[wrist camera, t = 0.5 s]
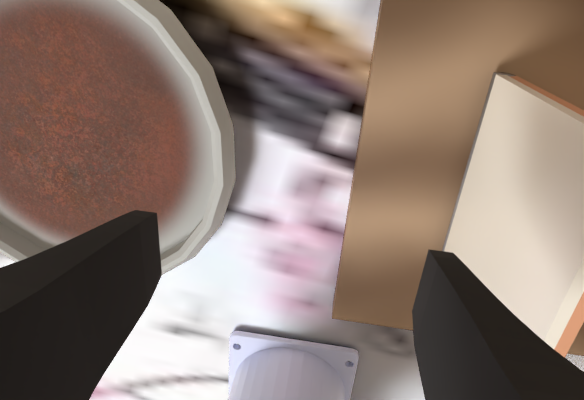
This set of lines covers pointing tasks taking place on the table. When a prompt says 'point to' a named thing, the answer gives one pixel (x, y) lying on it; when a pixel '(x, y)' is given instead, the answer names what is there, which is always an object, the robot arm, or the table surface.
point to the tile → (526, 208)
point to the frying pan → (108, 126)
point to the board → (437, 132)
